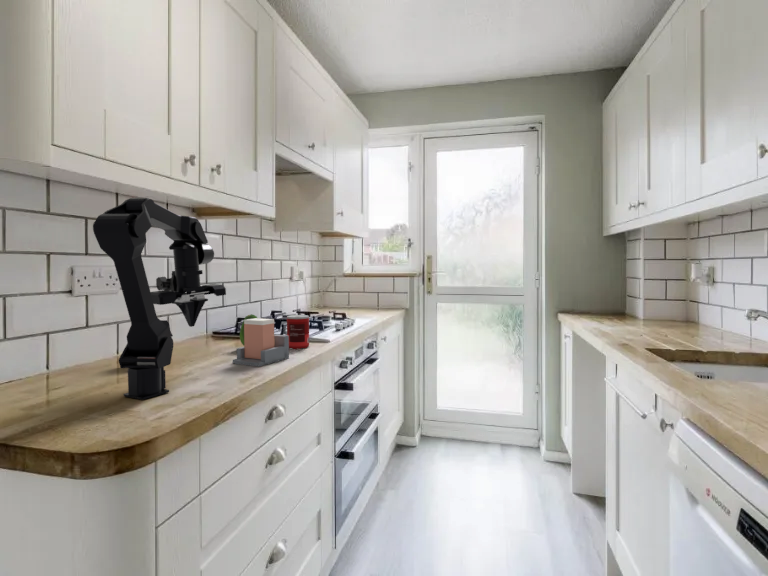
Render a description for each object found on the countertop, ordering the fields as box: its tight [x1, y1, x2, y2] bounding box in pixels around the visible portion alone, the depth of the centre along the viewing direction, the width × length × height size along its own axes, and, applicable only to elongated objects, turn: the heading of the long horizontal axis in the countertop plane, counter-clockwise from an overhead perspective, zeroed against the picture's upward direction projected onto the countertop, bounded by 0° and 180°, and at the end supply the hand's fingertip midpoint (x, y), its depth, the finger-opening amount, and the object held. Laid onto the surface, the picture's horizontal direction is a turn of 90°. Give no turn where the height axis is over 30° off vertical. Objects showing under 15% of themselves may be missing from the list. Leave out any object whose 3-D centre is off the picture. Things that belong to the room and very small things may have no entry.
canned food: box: [286, 314, 310, 350], centre depth 152 cm, size 8×8×11 cm
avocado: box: [239, 314, 258, 346], centre depth 148 cm, size 8×8×12 cm
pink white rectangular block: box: [243, 317, 275, 359], centre depth 129 cm, size 5×7×11 cm
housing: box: [232, 333, 290, 367], centre depth 129 cm, size 13×11×7 cm
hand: (191, 326), depth 113 cm, fingers closed
